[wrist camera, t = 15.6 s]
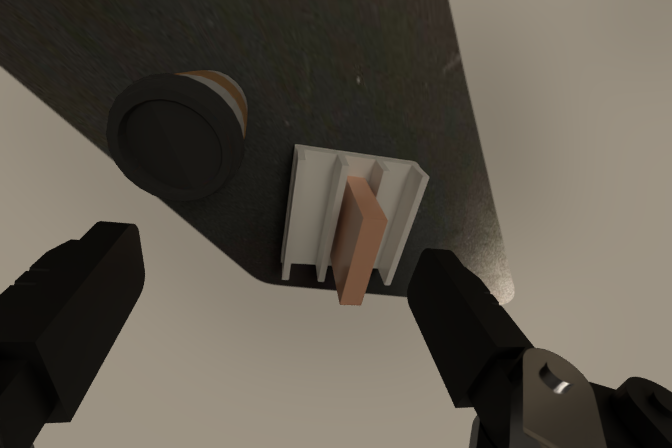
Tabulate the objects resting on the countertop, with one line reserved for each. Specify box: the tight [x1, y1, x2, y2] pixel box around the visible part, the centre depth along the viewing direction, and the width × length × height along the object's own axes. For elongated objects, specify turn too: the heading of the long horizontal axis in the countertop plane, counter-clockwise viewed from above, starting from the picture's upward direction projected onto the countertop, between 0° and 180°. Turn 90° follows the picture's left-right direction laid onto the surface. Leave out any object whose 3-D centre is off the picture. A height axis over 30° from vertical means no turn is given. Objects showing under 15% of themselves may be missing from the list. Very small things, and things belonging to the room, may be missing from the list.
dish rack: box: [281, 144, 429, 285], centre depth 39 cm, size 16×15×5 cm
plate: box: [330, 176, 388, 305], centre depth 36 cm, size 11×2×10 cm, turn 169°
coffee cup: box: [106, 70, 248, 201], centre depth 26 cm, size 8×8×15 cm
